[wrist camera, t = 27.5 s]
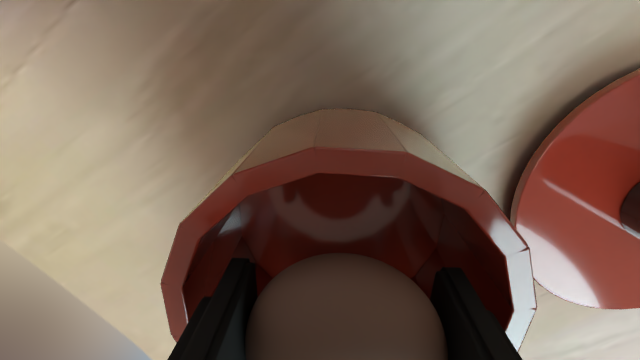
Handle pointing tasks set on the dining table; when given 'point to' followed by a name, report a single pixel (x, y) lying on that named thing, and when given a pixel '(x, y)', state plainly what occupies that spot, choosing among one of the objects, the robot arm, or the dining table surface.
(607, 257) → the lid
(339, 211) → the pot
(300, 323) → the egg
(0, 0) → the dining table surface
